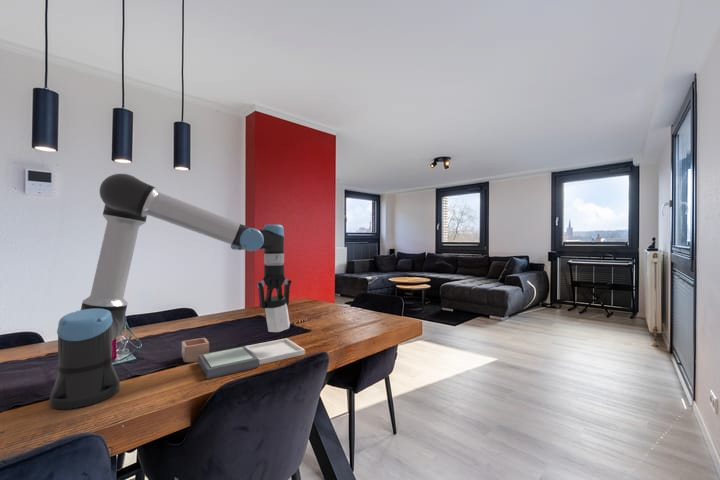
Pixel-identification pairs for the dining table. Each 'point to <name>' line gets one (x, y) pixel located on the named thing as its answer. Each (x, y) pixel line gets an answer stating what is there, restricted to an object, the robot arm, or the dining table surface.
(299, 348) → the tray
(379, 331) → the dining table surface
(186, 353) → the cup
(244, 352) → the plate
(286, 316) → the jar
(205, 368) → the block
